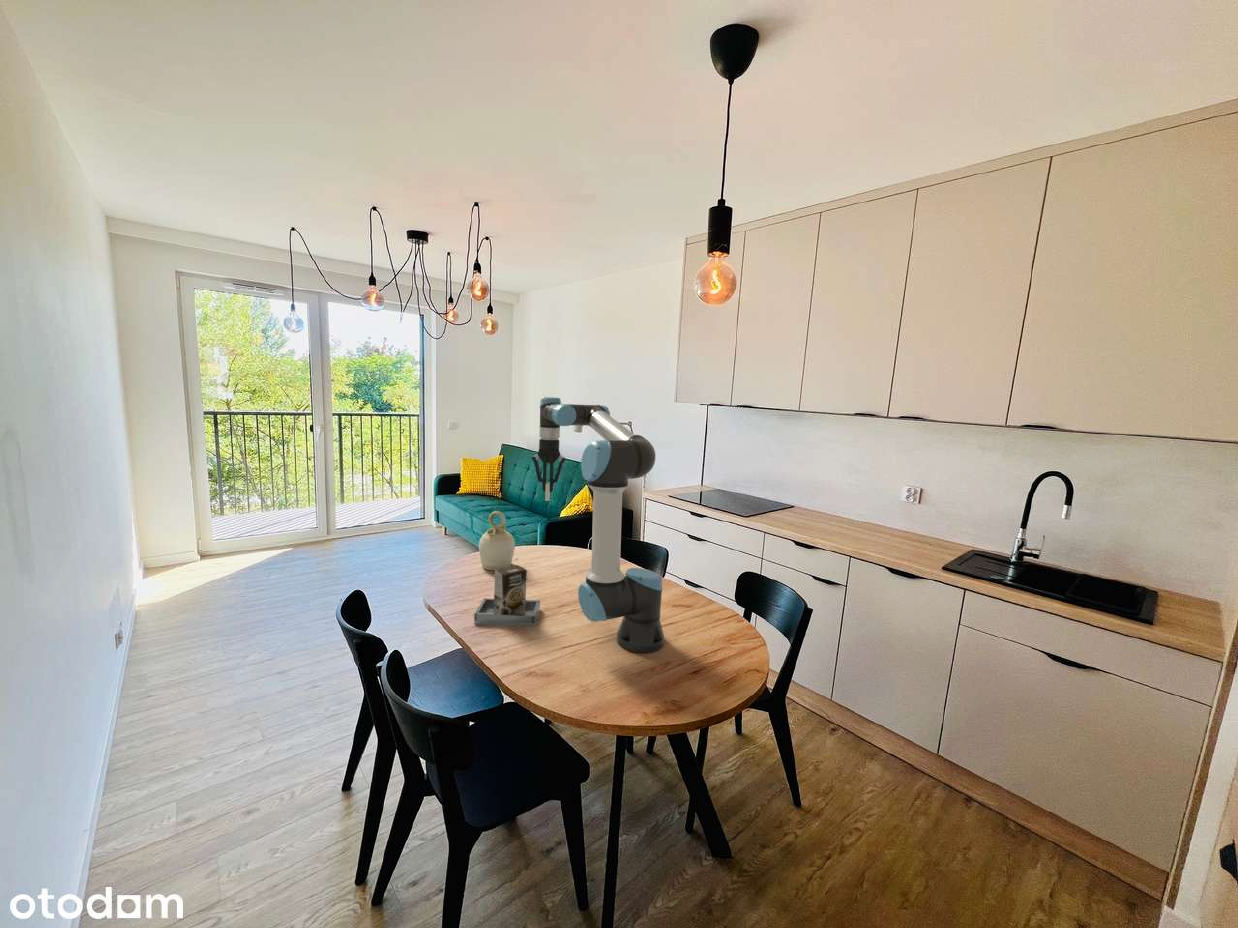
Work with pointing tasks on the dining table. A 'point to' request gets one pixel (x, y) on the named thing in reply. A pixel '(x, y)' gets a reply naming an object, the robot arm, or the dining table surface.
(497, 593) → the coffee box
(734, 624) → the dining table surface
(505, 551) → the jug
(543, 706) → the dining table surface
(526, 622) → the grey shallow tray
